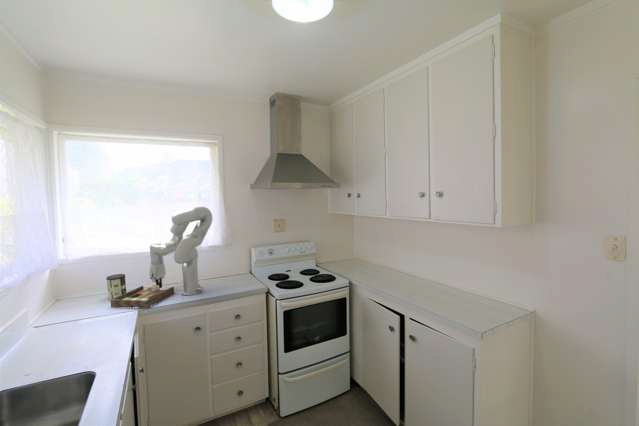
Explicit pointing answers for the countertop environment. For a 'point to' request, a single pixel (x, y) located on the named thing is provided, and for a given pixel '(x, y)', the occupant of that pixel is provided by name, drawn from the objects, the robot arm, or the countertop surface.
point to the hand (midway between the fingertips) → (159, 287)
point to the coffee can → (116, 285)
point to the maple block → (153, 289)
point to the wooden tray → (140, 298)
